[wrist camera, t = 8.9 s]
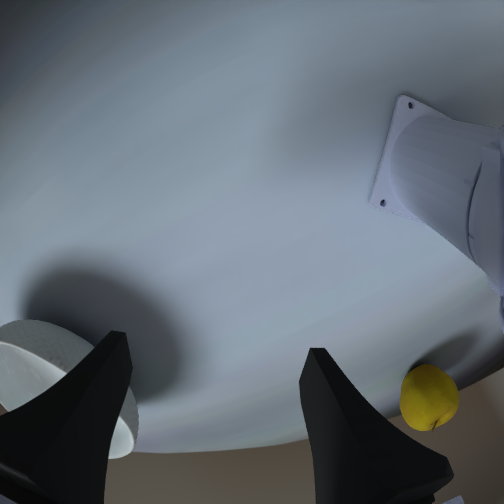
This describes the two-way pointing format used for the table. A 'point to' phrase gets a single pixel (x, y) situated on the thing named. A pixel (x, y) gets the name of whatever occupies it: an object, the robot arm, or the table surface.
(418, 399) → the apple
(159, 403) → the table surface
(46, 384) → the cereal bowl
